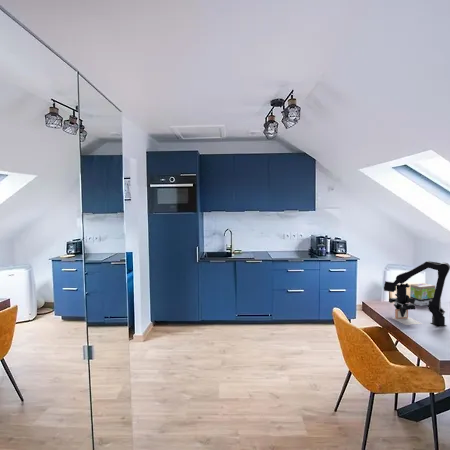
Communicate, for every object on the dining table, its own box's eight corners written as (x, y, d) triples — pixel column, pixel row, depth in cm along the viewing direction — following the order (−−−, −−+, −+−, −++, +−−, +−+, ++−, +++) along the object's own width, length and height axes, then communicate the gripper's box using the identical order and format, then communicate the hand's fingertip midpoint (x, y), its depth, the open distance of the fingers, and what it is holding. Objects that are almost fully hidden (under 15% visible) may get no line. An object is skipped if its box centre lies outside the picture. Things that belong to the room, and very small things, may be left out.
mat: (423, 324, 199) (423, 323, 199) (405, 325, 198) (405, 324, 198) (407, 317, 213) (407, 316, 213) (391, 318, 212) (391, 317, 212)
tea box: (421, 306, 237) (421, 287, 237) (409, 303, 247) (409, 284, 246) (435, 304, 243) (435, 285, 242) (423, 300, 252) (423, 282, 252)
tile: (408, 318, 210) (408, 309, 210) (396, 318, 209) (396, 309, 209) (406, 317, 212) (406, 308, 212) (395, 318, 211) (395, 309, 211)
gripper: (423, 296, 202) (423, 320, 202) (403, 289, 220) (403, 311, 221) (406, 296, 200) (406, 321, 201) (388, 290, 219) (388, 312, 219)
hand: (401, 316), depth 210 cm, fingers closed on tile, 2 cm apart
